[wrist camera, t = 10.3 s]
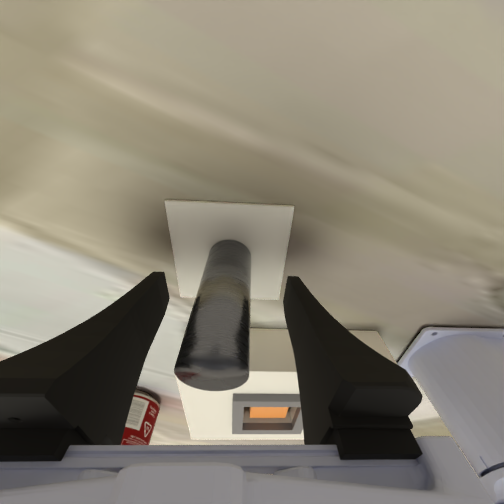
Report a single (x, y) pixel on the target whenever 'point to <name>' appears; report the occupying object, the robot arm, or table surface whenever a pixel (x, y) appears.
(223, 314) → the gray metal cylinder
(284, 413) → the button
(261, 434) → the box
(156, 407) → the soda can
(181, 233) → the mat
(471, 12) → the table surface
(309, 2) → the table surface
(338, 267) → the table surface
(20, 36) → the table surface
